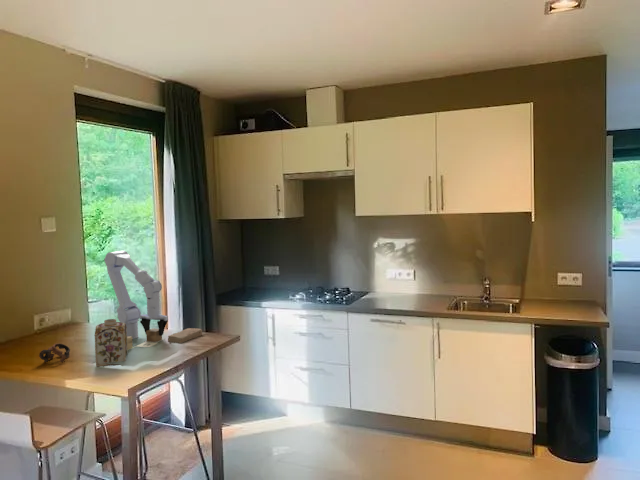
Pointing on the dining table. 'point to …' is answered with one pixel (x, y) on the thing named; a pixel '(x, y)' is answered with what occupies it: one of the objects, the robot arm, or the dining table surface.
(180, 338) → the brick
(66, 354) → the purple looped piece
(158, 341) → the pad
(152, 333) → the walnut block
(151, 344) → the board
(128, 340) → the oak block
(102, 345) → the decorative jar
